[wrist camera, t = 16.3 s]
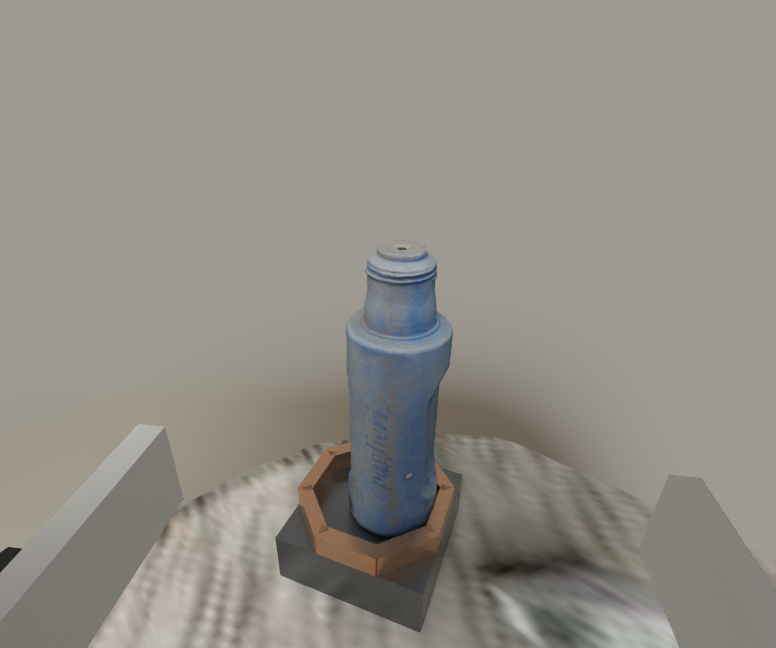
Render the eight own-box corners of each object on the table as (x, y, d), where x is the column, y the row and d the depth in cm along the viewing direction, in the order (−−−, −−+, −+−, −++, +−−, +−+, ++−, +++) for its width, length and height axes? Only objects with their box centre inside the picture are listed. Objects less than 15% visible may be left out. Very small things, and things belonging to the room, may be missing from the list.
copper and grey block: (457, 509, 58) (464, 459, 54) (419, 632, 45) (424, 577, 41) (344, 473, 63) (343, 425, 59) (280, 575, 50) (273, 521, 46)
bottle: (367, 463, 57) (366, 225, 43) (444, 484, 54) (469, 237, 41) (334, 523, 49) (321, 255, 35) (423, 552, 46) (445, 272, 32)
